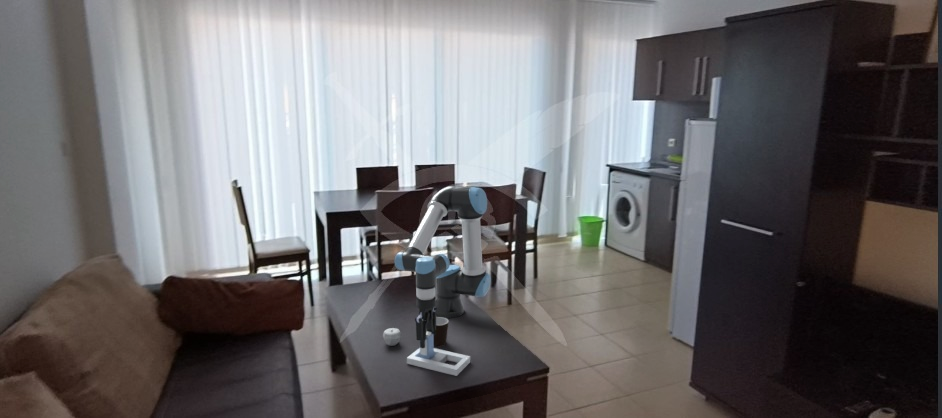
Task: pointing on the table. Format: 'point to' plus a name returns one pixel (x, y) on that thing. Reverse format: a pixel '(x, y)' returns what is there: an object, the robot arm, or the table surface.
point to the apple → (392, 336)
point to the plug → (429, 346)
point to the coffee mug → (440, 331)
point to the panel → (440, 361)
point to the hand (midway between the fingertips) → (426, 351)
